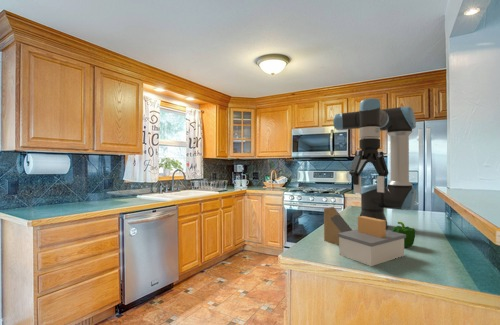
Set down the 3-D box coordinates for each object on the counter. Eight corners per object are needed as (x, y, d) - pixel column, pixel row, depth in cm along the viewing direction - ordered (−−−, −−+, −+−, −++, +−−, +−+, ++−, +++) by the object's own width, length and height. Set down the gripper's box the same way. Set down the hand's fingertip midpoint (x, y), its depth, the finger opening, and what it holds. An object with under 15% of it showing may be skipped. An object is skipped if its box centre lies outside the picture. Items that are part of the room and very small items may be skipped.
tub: (371, 245, 116) (371, 229, 116) (404, 255, 104) (404, 237, 104) (339, 254, 106) (339, 236, 106) (371, 266, 94) (371, 246, 94)
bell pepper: (419, 248, 112) (419, 224, 112) (400, 249, 112) (400, 225, 111) (406, 242, 120) (406, 220, 120) (389, 243, 120) (389, 220, 120)
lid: (371, 231, 117) (371, 212, 117) (406, 240, 104) (406, 218, 104) (337, 239, 106) (337, 218, 106) (371, 249, 93) (371, 225, 93)
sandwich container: (356, 249, 113) (355, 213, 113) (323, 241, 124) (323, 208, 124) (365, 244, 118) (365, 210, 118) (333, 237, 130) (333, 206, 130)
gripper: (355, 135, 97) (355, 194, 96) (398, 139, 109) (398, 192, 108) (339, 137, 103) (339, 193, 103) (381, 141, 115) (381, 191, 115)
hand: (369, 192), depth 106 cm, fingers open, 13 cm apart
